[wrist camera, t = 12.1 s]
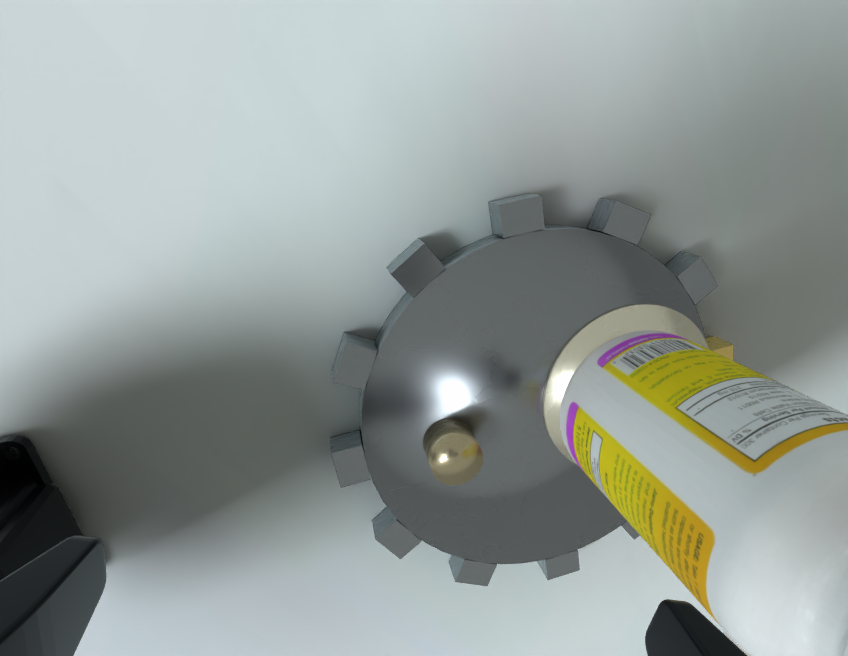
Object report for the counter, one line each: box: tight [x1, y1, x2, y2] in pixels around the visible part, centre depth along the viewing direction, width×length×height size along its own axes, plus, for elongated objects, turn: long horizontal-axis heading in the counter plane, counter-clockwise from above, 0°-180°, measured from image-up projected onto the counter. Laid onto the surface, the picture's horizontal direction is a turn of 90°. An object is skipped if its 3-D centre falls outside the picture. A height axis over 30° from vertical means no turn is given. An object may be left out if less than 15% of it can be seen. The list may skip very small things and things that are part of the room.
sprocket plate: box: [330, 193, 734, 586], centre depth 21 cm, size 17×17×3 cm
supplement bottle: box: [560, 330, 848, 656], centre depth 16 cm, size 7×7×13 cm
